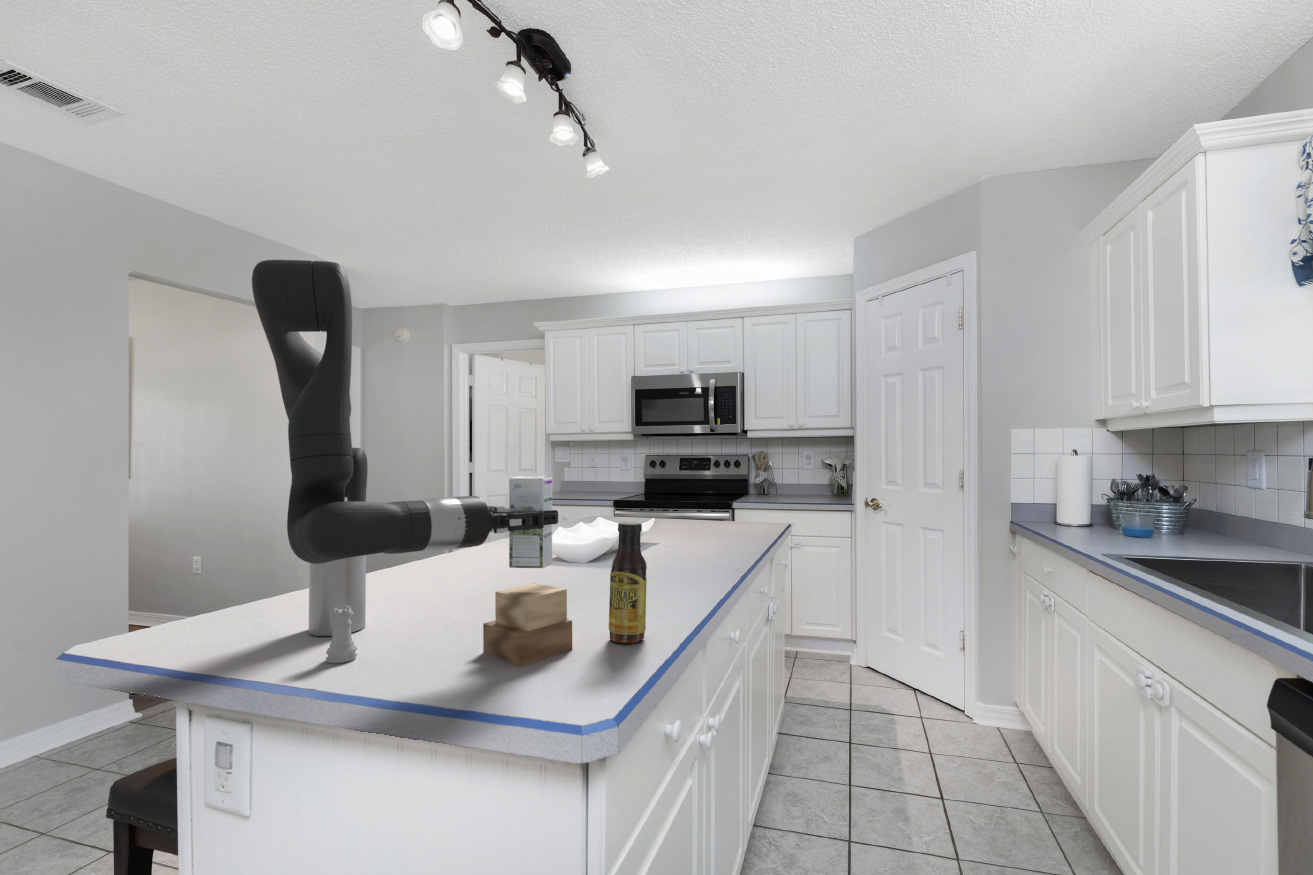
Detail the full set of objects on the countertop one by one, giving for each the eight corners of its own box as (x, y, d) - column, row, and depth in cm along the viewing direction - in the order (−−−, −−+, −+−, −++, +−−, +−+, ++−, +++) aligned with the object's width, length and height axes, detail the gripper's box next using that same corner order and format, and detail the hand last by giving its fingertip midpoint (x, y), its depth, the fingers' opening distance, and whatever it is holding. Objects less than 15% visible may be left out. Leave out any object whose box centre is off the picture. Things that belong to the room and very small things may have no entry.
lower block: (483, 654, 97) (483, 623, 98) (533, 639, 105) (533, 610, 105) (521, 668, 91) (521, 634, 91) (572, 651, 98) (572, 620, 99)
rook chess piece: (325, 666, 92) (325, 612, 92) (325, 657, 96) (325, 606, 96) (358, 661, 94) (358, 609, 94) (357, 653, 98) (357, 603, 98)
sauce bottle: (602, 643, 102) (601, 523, 102) (618, 632, 107) (617, 519, 108) (638, 647, 99) (637, 525, 100) (653, 636, 105) (651, 521, 105)
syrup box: (553, 563, 101) (553, 475, 102) (543, 569, 95) (543, 476, 96) (519, 562, 102) (520, 475, 102) (507, 568, 96) (508, 476, 96)
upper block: (495, 623, 97) (495, 591, 98) (534, 612, 104) (534, 583, 104) (528, 631, 93) (527, 598, 93) (566, 620, 99) (566, 589, 99)
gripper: (476, 498, 84) (568, 493, 96) (425, 495, 93) (515, 491, 105) (476, 553, 83) (568, 541, 95) (425, 544, 93) (515, 535, 105)
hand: (540, 515), depth 100 cm, fingers closed on syrup box, 8 cm apart
